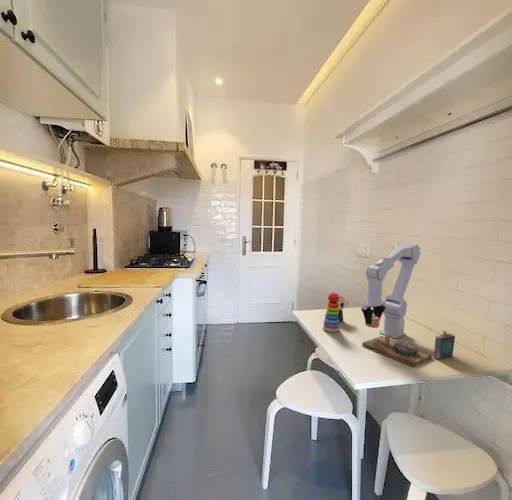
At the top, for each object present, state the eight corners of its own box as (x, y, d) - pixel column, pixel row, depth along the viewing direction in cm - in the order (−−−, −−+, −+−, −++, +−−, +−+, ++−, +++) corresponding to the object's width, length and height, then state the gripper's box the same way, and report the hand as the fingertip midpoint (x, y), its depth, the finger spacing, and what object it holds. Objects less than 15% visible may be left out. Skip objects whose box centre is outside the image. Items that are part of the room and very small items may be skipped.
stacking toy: (322, 331, 145) (324, 293, 143) (322, 326, 152) (324, 289, 150) (339, 333, 143) (341, 295, 141) (339, 328, 151) (341, 291, 149)
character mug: (328, 322, 159) (329, 298, 157) (325, 317, 166) (326, 294, 164) (349, 322, 158) (350, 298, 157) (345, 318, 165) (346, 295, 164)
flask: (437, 360, 118) (440, 333, 117) (430, 356, 121) (433, 331, 120) (454, 357, 121) (457, 331, 120) (447, 354, 124) (450, 328, 123)
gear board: (381, 339, 138) (382, 327, 137) (431, 358, 120) (432, 344, 119) (362, 345, 130) (363, 333, 129) (413, 367, 112) (414, 353, 111)
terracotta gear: (370, 322, 139) (371, 314, 138) (381, 326, 134) (382, 317, 133) (362, 324, 135) (363, 316, 135) (373, 328, 131) (374, 319, 130)
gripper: (376, 289, 140) (374, 317, 142) (356, 292, 132) (354, 322, 134) (390, 292, 135) (388, 321, 136) (370, 296, 126) (368, 327, 128)
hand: (372, 322), depth 134 cm, fingers closed on terracotta gear, 6 cm apart
